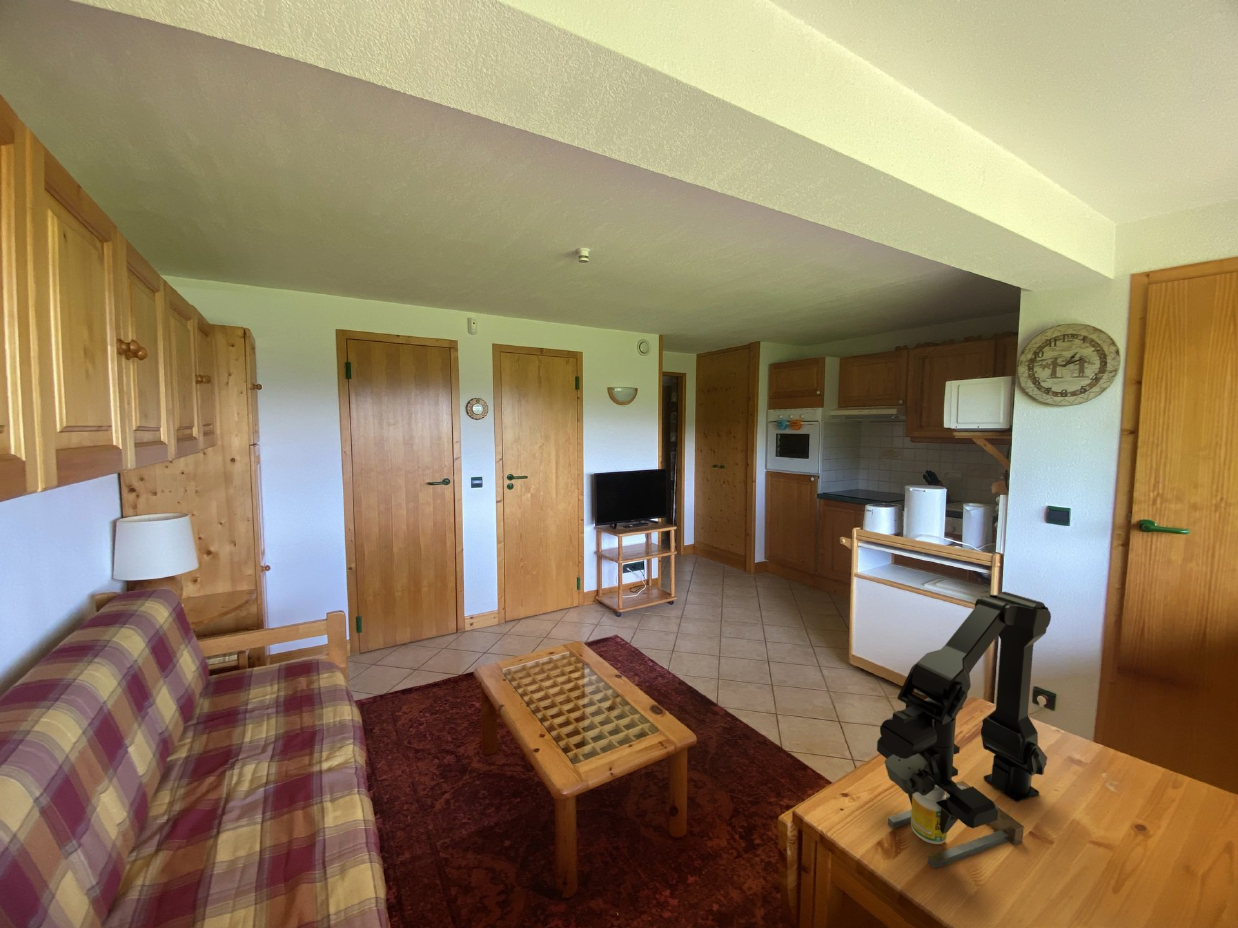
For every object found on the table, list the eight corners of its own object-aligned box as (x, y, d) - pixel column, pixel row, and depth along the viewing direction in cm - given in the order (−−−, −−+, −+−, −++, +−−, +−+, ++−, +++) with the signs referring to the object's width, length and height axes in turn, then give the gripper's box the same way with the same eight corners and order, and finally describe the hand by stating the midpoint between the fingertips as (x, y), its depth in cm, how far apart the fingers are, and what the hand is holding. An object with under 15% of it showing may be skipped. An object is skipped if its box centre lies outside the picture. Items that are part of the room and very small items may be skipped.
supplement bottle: (919, 814, 89) (922, 766, 88) (952, 835, 85) (955, 784, 84) (904, 828, 87) (907, 779, 85) (937, 851, 82) (940, 799, 81)
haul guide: (961, 794, 95) (962, 780, 95) (1022, 841, 85) (1023, 826, 85) (884, 819, 90) (884, 804, 90) (938, 873, 80) (939, 856, 79)
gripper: (854, 713, 90) (851, 790, 92) (949, 787, 72) (942, 881, 74) (902, 701, 93) (898, 776, 95) (1004, 770, 76) (996, 860, 78)
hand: (928, 818), depth 86 cm, fingers closed on supplement bottle, 5 cm apart
